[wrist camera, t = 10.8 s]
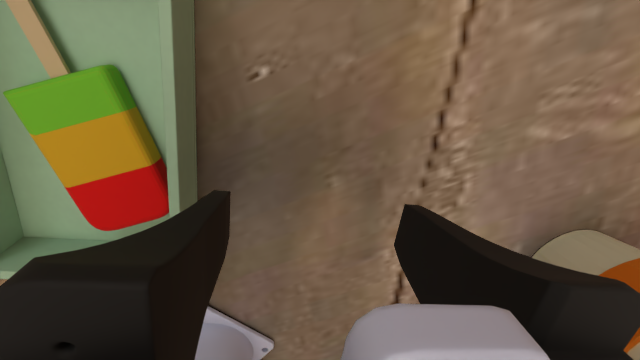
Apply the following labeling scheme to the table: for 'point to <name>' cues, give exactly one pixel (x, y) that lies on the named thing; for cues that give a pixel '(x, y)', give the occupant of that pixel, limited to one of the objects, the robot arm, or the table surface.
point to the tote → (145, 88)
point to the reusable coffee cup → (597, 263)
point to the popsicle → (90, 134)
